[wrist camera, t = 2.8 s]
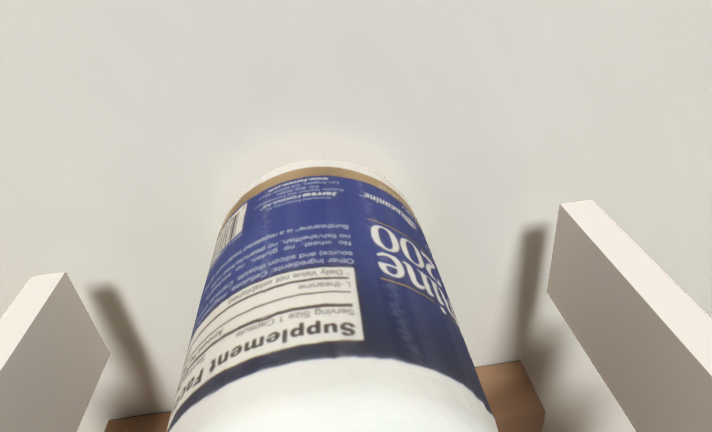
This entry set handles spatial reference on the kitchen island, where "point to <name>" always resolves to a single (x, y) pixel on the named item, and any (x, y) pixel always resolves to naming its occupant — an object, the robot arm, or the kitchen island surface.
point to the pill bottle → (326, 316)
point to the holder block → (499, 382)
